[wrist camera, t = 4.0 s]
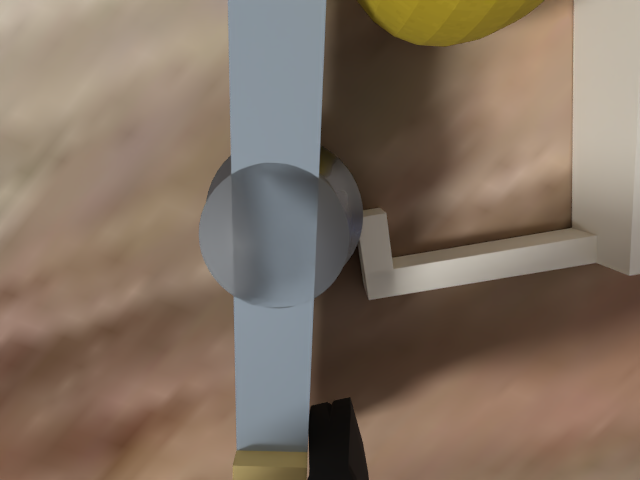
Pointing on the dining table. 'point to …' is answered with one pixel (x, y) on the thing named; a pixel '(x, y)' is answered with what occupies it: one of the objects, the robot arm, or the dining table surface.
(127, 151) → the dining table surface
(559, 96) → the dining table surface
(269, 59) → the lever
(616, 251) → the cream l-shaped bracket
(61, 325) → the dining table surface
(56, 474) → the dining table surface
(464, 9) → the lemon
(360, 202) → the base
